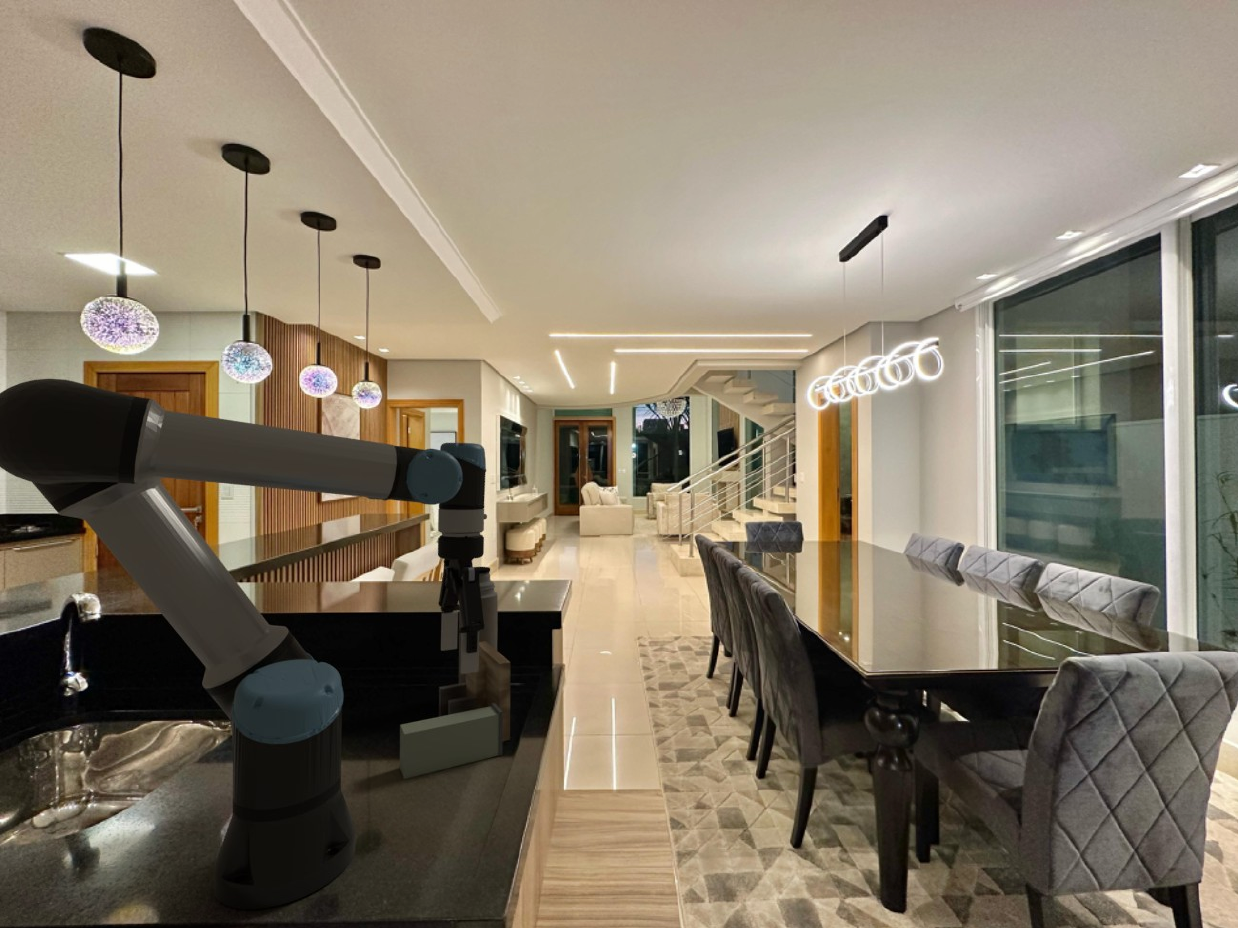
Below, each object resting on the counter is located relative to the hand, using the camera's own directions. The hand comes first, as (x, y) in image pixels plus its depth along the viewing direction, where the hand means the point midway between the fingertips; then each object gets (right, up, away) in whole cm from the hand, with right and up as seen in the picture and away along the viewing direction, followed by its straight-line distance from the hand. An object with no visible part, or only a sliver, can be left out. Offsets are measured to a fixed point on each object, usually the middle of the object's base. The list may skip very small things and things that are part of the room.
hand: (458, 660), depth 98 cm
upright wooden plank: (-1, -17, +12) cm, 21 cm away
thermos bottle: (-3, -17, +26) cm, 32 cm away
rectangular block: (-1, -17, -1) cm, 17 cm away
